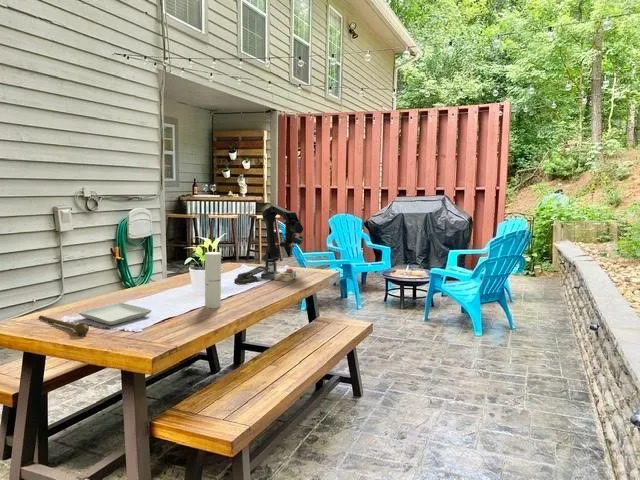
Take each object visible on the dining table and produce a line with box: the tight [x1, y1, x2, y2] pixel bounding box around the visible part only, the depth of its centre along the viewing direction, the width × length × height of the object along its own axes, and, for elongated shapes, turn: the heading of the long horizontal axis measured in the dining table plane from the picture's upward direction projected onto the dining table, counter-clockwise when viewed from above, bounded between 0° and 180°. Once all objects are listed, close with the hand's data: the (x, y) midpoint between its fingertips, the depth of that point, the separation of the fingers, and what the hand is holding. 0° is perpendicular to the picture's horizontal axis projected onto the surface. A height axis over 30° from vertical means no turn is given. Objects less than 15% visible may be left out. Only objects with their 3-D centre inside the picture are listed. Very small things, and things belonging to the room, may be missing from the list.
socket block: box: [260, 270, 297, 280], centre depth 303 cm, size 17×17×3 cm
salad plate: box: [77, 302, 152, 326], centre depth 205 cm, size 21×21×3 cm
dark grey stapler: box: [233, 265, 269, 285], centre depth 289 cm, size 9×7×25 cm
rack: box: [274, 272, 295, 282], centre depth 294 cm, size 9×9×3 cm
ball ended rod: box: [38, 315, 90, 336], centre depth 191 cm, size 5×35×5 cm
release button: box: [286, 267, 293, 273], centre depth 306 cm, size 4×4×4 cm
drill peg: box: [267, 262, 275, 274], centre depth 300 cm, size 3×3×9 cm
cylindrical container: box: [204, 251, 222, 309], centre depth 227 cm, size 7×7×25 cm
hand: (289, 256), depth 305 cm, fingers closed
